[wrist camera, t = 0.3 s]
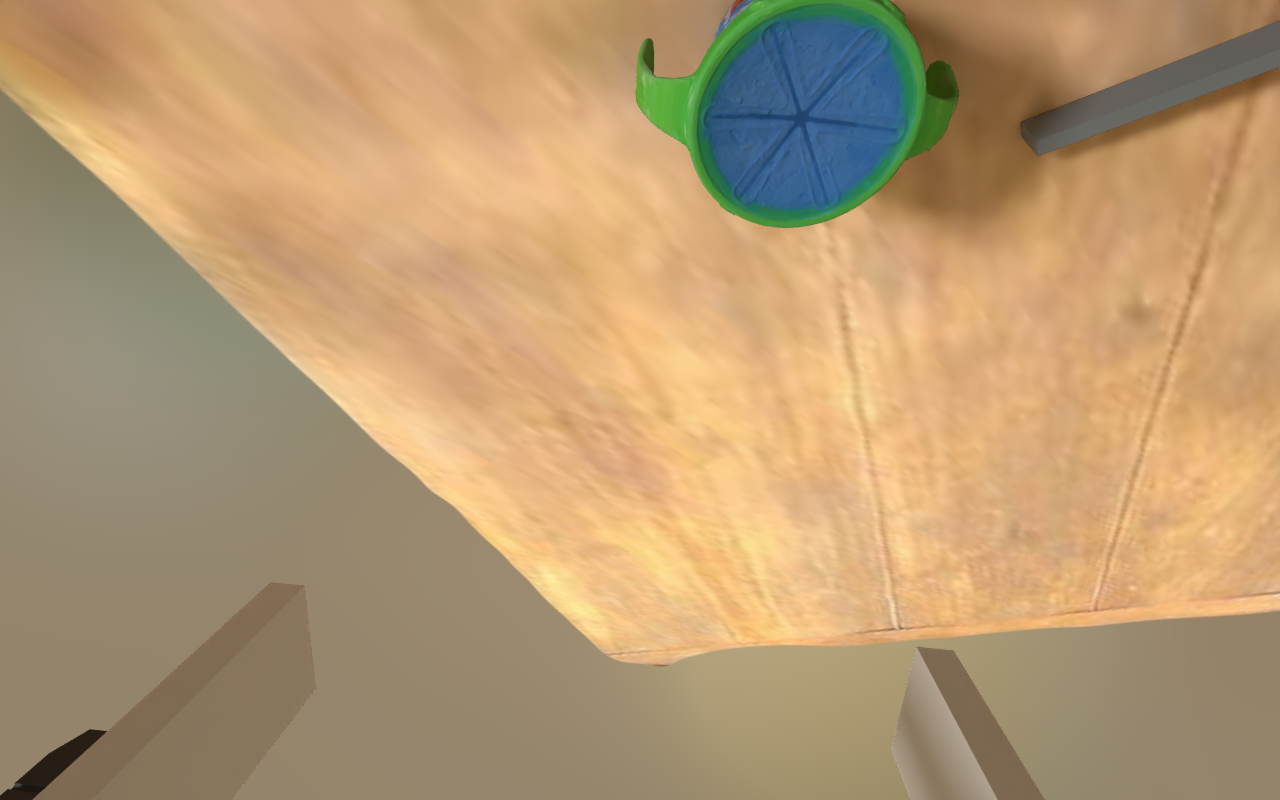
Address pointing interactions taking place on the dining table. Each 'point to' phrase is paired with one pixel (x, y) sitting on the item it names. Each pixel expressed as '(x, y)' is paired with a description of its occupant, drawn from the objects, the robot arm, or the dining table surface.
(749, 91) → the snack cup
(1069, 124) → the headboard cradle
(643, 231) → the dining table surface
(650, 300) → the dining table surface
